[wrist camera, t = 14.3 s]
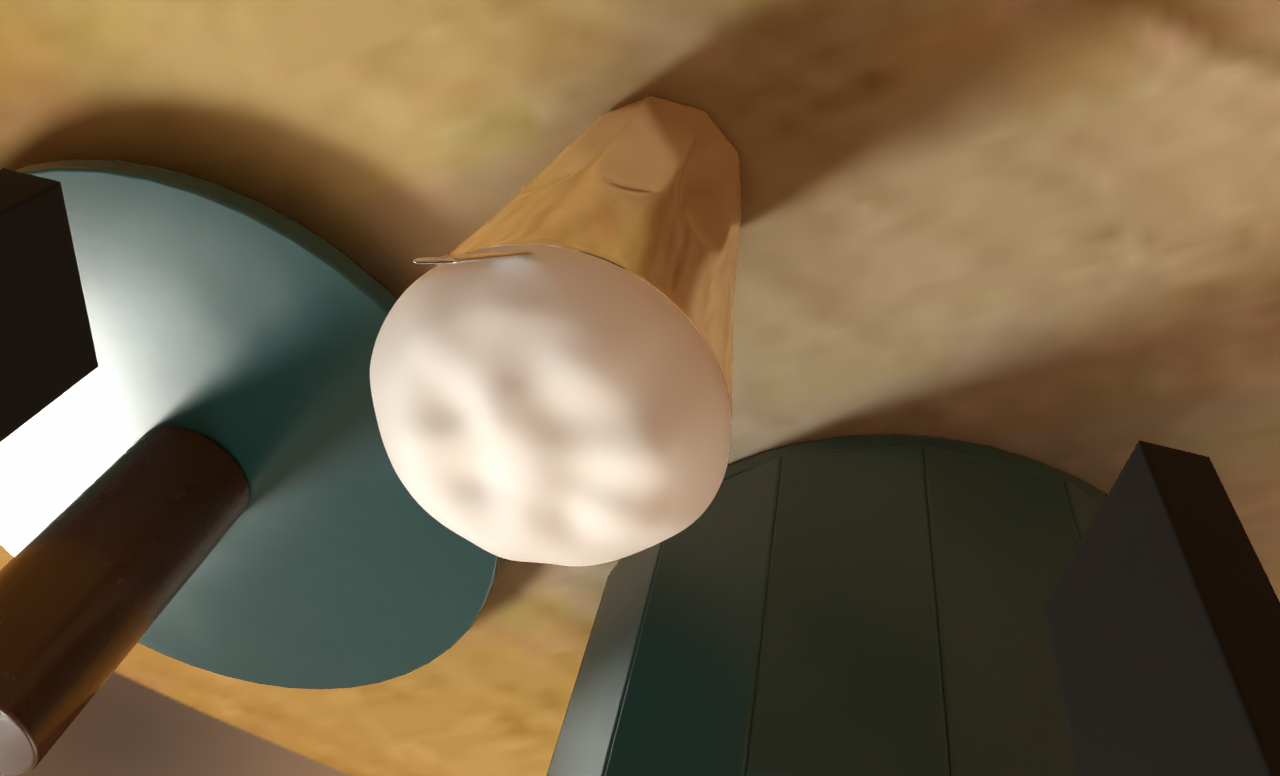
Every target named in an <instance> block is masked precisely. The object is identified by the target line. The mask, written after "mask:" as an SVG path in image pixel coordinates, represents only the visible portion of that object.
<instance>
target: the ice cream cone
mask: <svg viewBox="0 0 1280 776" xmlns="http://www.w3.org/2000/svg"><path fill="white" fill-rule="evenodd" d="M740 220H741V189H740V165H739V153H738V152H737V151H736V149H735V148H734V147H733V146H732V144H731V143H730V142H729V141H728V140H727V138H726V137H725V136H724V135H723V133H722V132H721V131H720V130H719V128H718V127H717V126H716V125H715V123H714V122H713V121H712V120H711V118H710V117H709V116H708V115H707V113H706V112H705V111H704V110H700V109H696V108H693V107H689V106H685V105H682V104H678V103H675V102H671V101H668V100H664V99H661V98H657V97H654V96H649V97H646V98H644V99H641V100H639V101H636V102H634V103H631V104H629V105H626V106H624V107H621V108H618V109H616V110H613V111H610V112H608V113H605V114H603V115H601V116H599V117H598V118H597V119H596V120H595V121H594V122H593V123H592V124H590V125H589V126H588V127H587V128H586V129H585V130H584V131H583V132H582V133H581V134H580V135H579V136H578V137H577V138H576V139H575V140H574V141H572V142H571V143H570V144H569V145H568V146H567V147H566V148H565V149H564V150H563V151H562V152H561V153H560V154H559V155H558V156H557V157H555V158H554V159H553V160H552V161H551V162H550V163H549V164H548V165H547V166H546V167H545V168H544V169H543V170H542V171H541V172H540V173H539V174H538V175H536V176H535V177H534V178H533V179H532V180H531V181H530V182H529V183H528V184H527V185H526V186H525V187H524V188H523V189H522V190H521V191H520V192H519V193H518V194H517V195H516V196H515V197H514V198H512V199H511V200H510V201H509V202H508V203H507V204H506V205H505V206H504V207H503V208H502V209H501V210H500V211H498V212H497V213H496V214H495V215H494V216H493V217H492V218H490V219H489V220H488V221H487V222H486V223H484V224H483V225H482V226H481V227H480V228H479V229H477V230H476V231H475V232H474V233H473V234H471V235H470V236H469V237H468V238H467V239H465V240H464V241H463V242H462V243H461V244H460V245H458V246H457V247H456V248H455V249H454V250H452V251H451V252H450V253H449V254H448V255H446V256H438V257H425V258H416V259H414V260H413V262H414V263H415V264H436V265H434V266H433V267H432V268H431V269H430V270H429V271H427V272H426V273H425V274H424V275H422V276H421V277H420V278H418V279H417V280H416V281H415V282H414V283H413V284H411V285H410V286H409V287H408V288H407V289H406V290H405V292H404V293H403V294H402V295H401V296H400V298H399V299H398V300H397V301H396V303H395V304H394V306H393V307H392V309H391V310H390V312H389V313H388V315H387V317H386V319H385V321H384V323H383V325H382V327H381V329H380V331H379V334H378V336H377V339H376V342H375V345H374V349H373V353H372V357H371V363H370V386H371V394H372V399H373V405H374V409H375V414H376V418H377V423H378V427H379V431H380V434H381V438H382V441H383V444H384V447H385V449H386V452H387V454H388V457H389V459H390V461H391V464H392V466H393V468H394V470H395V472H396V473H397V475H398V477H399V479H400V480H401V482H402V483H403V485H404V486H405V487H406V489H407V490H408V492H409V493H410V494H411V495H412V497H413V498H414V499H415V500H416V502H417V503H418V504H419V505H420V506H421V507H422V508H423V509H424V510H425V511H426V512H427V513H429V514H430V515H431V516H432V517H433V518H435V519H436V520H437V521H438V522H440V523H441V524H442V525H444V526H445V527H447V528H448V529H450V530H451V531H453V532H455V533H456V534H458V535H460V536H461V537H463V538H465V539H467V540H468V541H470V542H472V543H473V544H475V545H477V546H478V547H480V548H482V549H484V550H485V551H487V552H489V553H491V554H493V555H496V556H498V557H501V558H504V559H508V560H513V561H521V562H536V563H547V564H556V565H564V566H576V567H578V566H591V565H598V564H603V563H607V562H611V561H615V560H618V559H621V558H624V557H627V556H630V555H632V554H635V553H638V552H640V551H642V550H645V549H647V548H649V547H652V546H654V545H656V544H658V543H660V542H662V541H664V540H666V539H668V538H670V537H672V536H674V535H676V534H678V533H679V532H681V531H683V530H684V529H686V528H687V527H688V526H690V525H691V524H692V523H694V522H695V521H696V520H697V519H698V518H699V517H700V516H701V515H702V514H703V513H704V511H705V510H706V509H707V508H708V506H709V505H710V504H711V502H712V500H713V499H714V497H715V495H716V494H717V492H718V490H719V488H720V486H721V483H722V481H723V478H724V475H725V472H726V468H727V464H728V460H729V454H730V447H731V420H732V377H733V304H734V292H735V280H736V268H737V256H738V244H739V232H740Z"/></svg>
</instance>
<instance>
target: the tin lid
mask: <svg viewBox="0 0 1280 776" xmlns="http://www.w3.org/2000/svg"><path fill="white" fill-rule="evenodd" d="M14 171H18V172H22V173H26V174H30V175H34V176H39V177H43V178H47V179H51V180H55V181H59V182H61V187H62V192H63V197H64V202H65V207H66V211H67V216H68V221H69V226H70V231H71V236H72V241H73V245H74V250H75V255H76V260H77V265H78V270H79V275H80V279H81V284H82V289H83V294H84V299H85V304H86V309H87V314H88V318H89V323H90V328H91V333H92V338H93V343H94V348H95V352H96V357H97V362H98V367H97V368H96V369H94V370H93V371H92V372H91V373H89V374H88V375H87V376H85V377H84V378H83V379H82V380H80V381H79V382H78V383H76V384H75V385H74V386H72V387H71V388H70V389H69V390H67V391H66V392H65V393H63V394H62V395H61V396H60V397H58V398H57V399H56V400H54V401H53V402H52V403H51V404H49V405H48V406H47V407H45V408H44V409H43V410H42V411H40V412H39V413H38V414H36V415H35V416H34V417H33V418H31V419H30V420H29V421H27V422H26V423H25V424H23V425H22V426H21V427H20V428H18V429H17V430H16V431H14V432H13V433H12V434H11V435H9V436H8V437H7V438H5V439H4V440H3V441H2V442H0V544H1V545H2V547H3V548H4V549H5V550H6V551H8V552H9V553H10V554H11V555H12V556H13V557H14V558H13V559H12V560H11V561H10V562H9V563H8V564H7V565H6V566H4V567H3V568H2V569H1V570H0V776H21V775H24V774H26V773H28V772H29V771H31V770H33V769H34V768H35V766H37V765H38V763H39V762H40V761H41V760H42V758H43V757H44V756H45V755H46V754H47V752H48V751H49V750H50V749H51V747H52V746H53V745H54V744H55V742H56V741H57V740H58V739H59V738H60V736H61V735H62V734H63V733H64V731H65V730H66V729H67V728H68V727H69V725H70V724H71V723H72V722H73V720H74V719H75V718H76V717H77V716H78V714H79V713H80V712H81V711H82V709H83V708H84V707H85V706H86V705H87V703H88V702H89V701H90V699H91V698H92V697H93V696H94V694H95V693H96V692H97V691H98V690H99V688H100V687H101V686H102V685H103V684H104V682H105V681H106V679H108V678H109V676H110V675H111V674H112V673H113V671H114V670H115V669H116V668H117V667H118V665H119V664H120V663H121V662H122V660H123V659H124V658H125V657H126V656H127V654H128V653H129V652H130V651H131V649H132V648H133V647H134V646H135V645H136V643H137V642H138V643H140V644H142V645H145V646H147V647H149V648H151V649H153V650H155V651H157V652H159V653H162V654H164V655H167V656H169V657H172V658H174V659H177V660H179V661H182V662H184V663H187V664H189V665H192V666H195V667H198V668H201V669H204V670H208V671H211V672H214V673H217V674H220V675H224V676H228V677H232V678H236V679H241V680H245V681H249V682H254V683H259V684H266V685H273V686H280V687H287V688H304V689H334V688H351V687H357V686H362V685H368V684H374V683H379V682H382V681H386V680H389V679H392V678H395V677H398V676H401V675H405V674H407V673H409V672H411V671H413V670H415V669H417V668H419V667H421V666H423V665H425V664H428V663H430V662H431V661H432V660H434V659H435V658H437V657H438V656H439V655H441V654H442V653H444V652H445V651H446V650H448V649H449V648H451V647H452V646H453V645H454V644H455V643H456V642H457V641H458V640H459V639H460V638H461V637H462V636H463V635H464V634H465V633H466V632H467V630H468V629H469V628H470V627H471V626H472V624H473V623H474V621H475V620H476V618H477V617H478V615H479V613H480V612H481V610H482V609H483V607H484V606H485V604H486V601H487V599H488V597H489V595H490V592H491V590H492V587H493V585H494V582H495V580H496V577H497V575H498V572H499V570H500V567H501V562H502V558H501V557H498V556H496V555H493V554H491V553H489V552H487V551H485V550H484V549H482V548H480V547H478V546H477V545H475V544H473V543H472V542H470V541H468V540H467V539H465V538H463V537H461V536H460V535H458V534H456V533H455V532H453V531H451V530H450V529H448V528H447V527H445V526H444V525H442V524H441V523H440V522H438V521H437V520H436V519H435V518H433V517H432V516H431V515H430V514H429V513H427V512H426V511H425V510H424V509H423V508H422V507H421V506H420V505H419V504H418V503H417V502H416V500H415V499H414V498H413V497H412V495H411V494H410V493H409V492H408V490H407V489H406V487H405V486H404V485H403V483H402V482H401V480H400V479H399V477H398V475H397V473H396V472H395V470H394V468H393V466H392V464H391V461H390V459H389V457H388V454H387V452H386V449H385V447H384V444H383V441H382V438H381V434H380V431H379V427H378V423H377V418H376V414H375V409H374V405H373V399H372V394H371V386H370V363H371V357H372V353H373V349H374V345H375V342H376V339H377V336H378V334H379V331H380V329H381V327H382V325H383V323H384V321H385V319H386V317H387V315H388V313H389V312H390V310H391V309H392V307H393V306H394V304H395V303H396V301H397V299H396V298H395V297H394V296H393V295H392V294H391V293H390V292H389V291H388V290H387V289H386V288H385V287H383V286H382V285H381V284H380V283H379V282H377V281H376V280H375V279H374V278H373V277H372V276H370V275H369V274H368V273H367V272H366V271H364V270H363V269H362V268H361V267H360V266H358V265H357V264H356V263H355V262H354V261H353V260H351V259H350V258H349V257H348V256H346V255H345V254H343V253H342V252H341V251H339V250H338V249H336V248H335V247H333V246H332V245H330V244H329V243H327V242H326V241H325V240H323V239H322V238H320V237H319V236H317V235H316V234H314V233H313V232H311V231H310V230H308V229H307V228H306V227H304V226H302V225H300V224H298V223H297V222H295V221H293V220H291V219H289V218H288V217H286V216H284V215H282V214H280V213H278V212H277V211H275V210H273V209H271V208H269V207H267V206H266V205H264V204H262V203H260V202H258V201H256V200H253V199H251V198H248V197H246V196H244V195H241V194H239V193H236V192H234V191H232V190H229V189H227V188H225V187H222V186H220V185H217V184H215V183H213V182H209V181H206V180H203V179H199V178H196V177H192V176H189V175H186V174H182V173H179V172H175V171H172V170H169V169H165V168H159V167H153V166H147V165H141V164H135V163H129V162H123V161H113V160H79V159H72V160H63V161H55V162H47V163H39V164H32V165H29V166H26V167H22V168H19V169H16V170H14Z"/></svg>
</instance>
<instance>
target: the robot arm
mask: <svg viewBox="0 0 1280 776" xmlns="http://www.w3.org/2000/svg"><path fill="white" fill-rule="evenodd" d="M97 367H98V362H97V357H96V352H95V348H94V343H93V338H92V333H91V328H90V323H89V318H88V314H87V309H86V304H85V299H84V294H83V289H82V284H81V279H80V275H79V270H78V265H77V260H76V255H75V250H74V245H73V241H72V236H71V231H70V226H69V221H68V216H67V211H66V207H65V202H64V197H63V192H62V187H61V182H59V181H55V180H51V179H47V178H43V177H39V176H34V175H30V174H26V173H22V172H18V171H14V170H9V169H5V168H3V169H0V442H2V441H3V440H4V439H5V438H7V437H8V436H9V435H11V434H12V433H13V432H14V431H16V430H17V429H18V428H20V427H21V426H22V425H23V424H25V423H26V422H27V421H29V420H30V419H31V418H33V417H34V416H35V415H36V414H38V413H39V412H40V411H42V410H43V409H44V408H45V407H47V406H48V405H49V404H51V403H52V402H53V401H54V400H56V399H57V398H58V397H60V396H61V395H62V394H63V393H65V392H66V391H67V390H69V389H70V388H71V387H72V386H74V385H75V384H76V383H78V382H79V381H80V380H82V379H83V378H84V377H85V376H87V375H88V374H89V373H91V372H92V371H93V370H94V369H96V368H97ZM1043 611H1044V616H1045V621H1046V626H1047V631H1048V636H1049V641H1050V646H1051V651H1052V656H1053V661H1054V665H1055V670H1056V675H1057V680H1058V685H1059V690H1060V695H1061V700H1062V705H1063V710H1064V715H1065V720H1066V725H1067V730H1068V735H1069V740H1070V745H1071V750H1072V755H1073V760H1074V765H1075V769H1076V774H1077V776H1280V602H1279V600H1278V598H1277V596H1276V594H1275V592H1274V590H1273V588H1272V586H1271V584H1270V582H1269V580H1268V578H1267V575H1266V573H1265V571H1264V569H1263V567H1262V565H1261V563H1260V561H1259V559H1258V557H1257V555H1256V553H1255V551H1254V549H1253V547H1252V545H1251V543H1250V540H1249V538H1248V536H1247V534H1246V532H1245V530H1244V528H1243V526H1242V524H1241V522H1240V520H1239V518H1238V516H1237V514H1236V512H1235V510H1234V508H1233V506H1232V503H1231V501H1230V499H1229V497H1228V495H1227V493H1226V491H1225V489H1224V487H1223V485H1222V483H1221V481H1220V479H1219V477H1218V475H1217V473H1216V471H1215V469H1214V466H1213V464H1212V462H1211V460H1210V458H1209V457H1206V456H1202V455H1198V454H1194V453H1190V452H1185V451H1181V450H1177V449H1173V448H1169V447H1165V446H1160V445H1156V444H1152V443H1148V442H1144V441H1140V440H1139V442H1138V444H1137V445H1136V447H1135V449H1134V451H1133V452H1132V454H1131V456H1130V458H1129V459H1128V461H1127V463H1126V464H1125V466H1124V468H1123V470H1122V471H1121V473H1120V475H1119V477H1118V478H1117V480H1116V482H1115V484H1114V485H1113V487H1112V489H1111V491H1110V492H1109V494H1108V496H1107V498H1106V499H1105V501H1104V503H1103V505H1102V506H1101V508H1100V510H1099V511H1098V513H1097V515H1096V517H1095V518H1094V520H1093V522H1092V524H1091V525H1090V527H1089V529H1088V531H1087V532H1086V534H1085V536H1084V538H1083V539H1082V541H1081V543H1080V545H1079V546H1078V548H1077V550H1076V552H1075V553H1074V555H1073V557H1072V559H1071V560H1070V562H1069V564H1068V565H1067V567H1066V569H1065V571H1064V572H1063V574H1062V576H1061V578H1060V579H1059V581H1058V583H1057V585H1056V586H1055V588H1054V590H1053V592H1052V593H1051V595H1050V597H1049V599H1048V600H1047V602H1046V604H1045V606H1044V607H1043Z"/></svg>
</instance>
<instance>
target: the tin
mask: <svg viewBox="0 0 1280 776" xmlns="http://www.w3.org/2000/svg"><path fill="white" fill-rule="evenodd" d="M1106 498H1107V495H1106V494H1104V493H1102V492H1100V491H1099V490H1097V489H1095V488H1093V487H1092V486H1090V485H1088V484H1086V483H1085V482H1083V481H1081V480H1079V479H1078V478H1076V477H1074V476H1071V475H1069V474H1067V473H1064V472H1062V471H1059V470H1057V469H1055V468H1052V467H1050V466H1048V465H1045V464H1043V463H1040V462H1038V461H1036V460H1033V459H1030V458H1026V457H1023V456H1019V455H1016V454H1013V453H1009V452H1006V451H1002V450H999V449H996V448H992V447H988V446H983V445H977V444H972V443H966V442H961V441H955V440H950V439H944V438H932V437H918V436H905V435H873V436H848V437H840V438H833V439H825V440H817V441H810V442H804V443H800V444H796V445H792V446H788V447H784V448H780V449H776V450H772V451H768V452H764V453H762V454H759V455H756V456H753V457H751V458H748V459H745V460H743V461H740V462H737V463H735V464H732V465H729V466H727V468H726V472H725V475H724V478H723V481H722V483H721V486H720V488H719V490H718V492H717V494H716V495H715V497H714V499H713V500H712V502H711V504H710V505H709V506H708V508H707V509H706V510H705V511H704V513H703V514H702V515H701V516H700V517H699V518H698V519H697V520H696V521H695V522H694V523H692V524H691V525H690V526H688V527H687V528H686V529H684V530H683V531H681V532H679V533H678V534H676V535H674V536H672V537H670V538H668V539H666V540H664V541H662V542H660V543H658V544H656V545H654V546H652V547H649V548H647V549H645V550H642V551H640V552H638V553H635V554H632V555H630V556H627V557H624V558H621V559H620V561H619V563H618V564H617V565H616V567H615V568H614V569H613V570H612V571H611V572H610V575H609V576H608V579H607V582H606V585H605V589H604V592H603V595H602V598H601V601H600V605H599V608H598V611H597V614H596V618H595V621H594V624H593V627H592V631H591V634H590V637H589V640H588V644H587V647H586V650H585V653H584V656H583V660H582V663H581V666H580V669H579V673H578V676H577V679H576V682H575V686H574V689H573V692H572V695H571V699H570V702H569V705H568V708H567V711H566V715H565V718H564V721H563V724H562V728H561V731H560V734H559V737H558V741H557V744H556V747H555V750H554V753H553V757H552V760H551V763H550V766H549V770H548V773H547V776H1077V774H1076V769H1075V765H1074V760H1073V755H1072V750H1071V745H1070V740H1069V735H1068V730H1067V725H1066V720H1065V715H1064V710H1063V705H1062V700H1061V695H1060V690H1059V685H1058V680H1057V675H1056V670H1055V665H1054V661H1053V656H1052V651H1051V646H1050V641H1049V636H1048V631H1047V626H1046V621H1045V616H1044V611H1043V607H1044V606H1045V604H1046V602H1047V600H1048V599H1049V597H1050V595H1051V593H1052V592H1053V590H1054V588H1055V586H1056V585H1057V583H1058V581H1059V579H1060V578H1061V576H1062V574H1063V572H1064V571H1065V569H1066V567H1067V565H1068V564H1069V562H1070V560H1071V559H1072V557H1073V555H1074V553H1075V552H1076V550H1077V548H1078V546H1079V545H1080V543H1081V541H1082V539H1083V538H1084V536H1085V534H1086V532H1087V531H1088V529H1089V527H1090V525H1091V524H1092V522H1093V520H1094V518H1095V517H1096V515H1097V513H1098V511H1099V510H1100V508H1101V506H1102V505H1103V503H1104V501H1105V499H1106Z"/></svg>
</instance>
